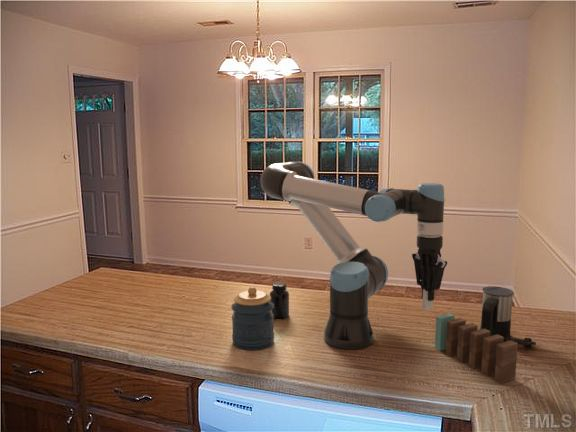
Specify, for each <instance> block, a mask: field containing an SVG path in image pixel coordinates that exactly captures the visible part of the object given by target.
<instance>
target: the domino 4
mask: <svg viewBox="0 0 576 432" xmlns="http://www.w3.org/2000/svg"><path fill="white" fill-rule="evenodd" d="M489 336H490V331H489V330H487V329H481V330H480V329H478V330H477V331H473V332H471V335H470V352H469V361H468V367H469V368H471V369H472V370H478V369H480V368H481V369H482V353H483V338H485V337H489Z"/></svg>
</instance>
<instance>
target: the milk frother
mask: <svg viewBox="0 0 576 432" xmlns="http://www.w3.org/2000/svg"><path fill="white" fill-rule="evenodd" d="M482 292H483V295H482V305H481V306H482V307H481V318H480V319H481V321H480V327H479V330H481V329H487V330H489V331H490V336H493V335H496V334H498V335H500V336H503V337H504V341H503V342H507V341H510V340H512V341H514V342H516V343H518V344H523V345H524V347H526V348H531V347H532V346H536V345H537V342H535V341H532V338H530V337H525V338H523V339H522V338H512V336H511V335H512V334H511V327H512V325H511V323H512V312H513V311H512V310H513V300H514V299H513V298H514V295H515V292H514V290H512V289H509V288H506V287H502V286H496V285H495V286H491V285H490V286H484V287H482Z"/></svg>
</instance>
